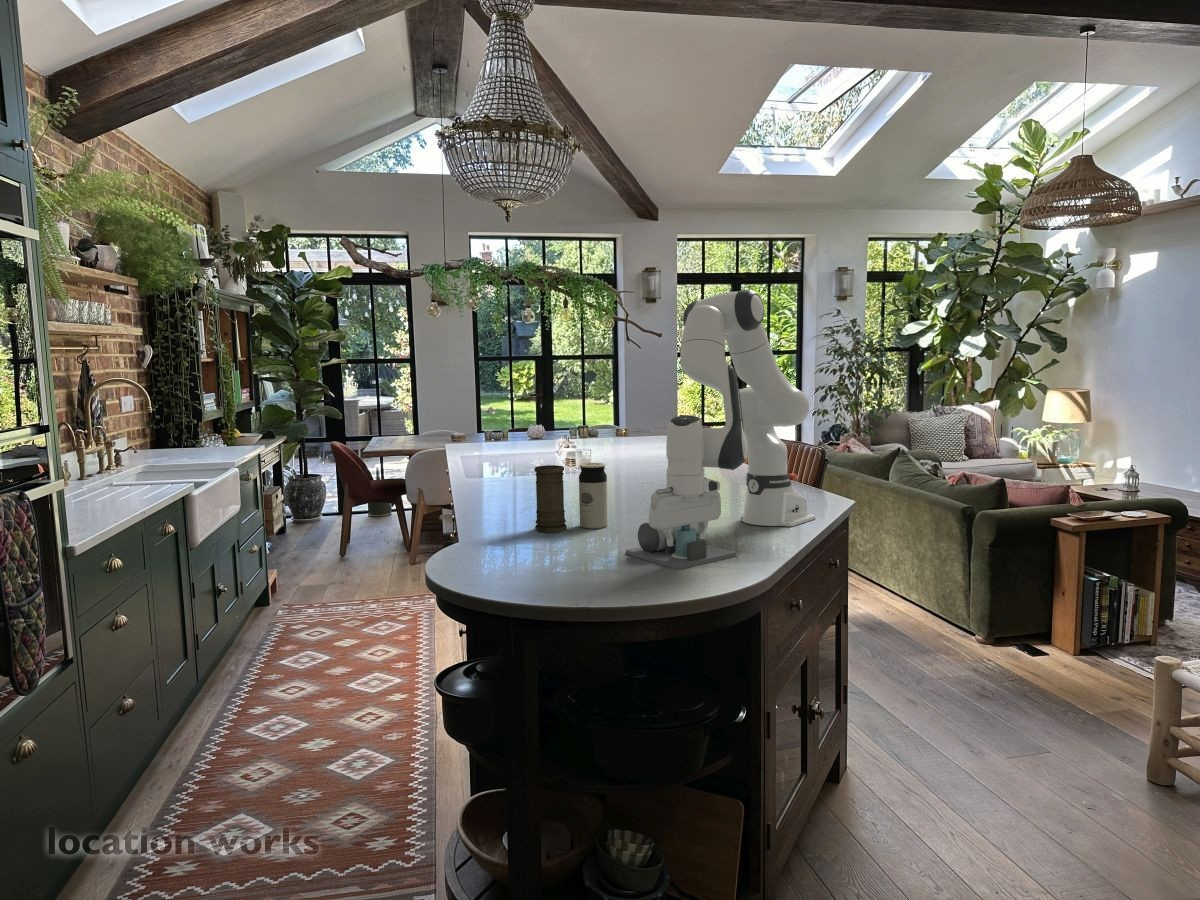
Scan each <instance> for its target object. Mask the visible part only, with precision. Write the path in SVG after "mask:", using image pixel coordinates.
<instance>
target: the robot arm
mask: <svg viewBox="0 0 1200 900" xmlns="http://www.w3.org/2000/svg"><path fill="white" fill-rule="evenodd" d="M764 316H765V306H764V302H763V299H762V297H761V296H760V295H759V294H758V293H757V292H756V291H754V290H753V289H740V290H738V291H728V292H722V293H717V294H716V295H712V296H709V297H706V298H703V299H697V300H695V301H692V302H690V303H689V304H688V305H687V306H686V308H685V309H684V311H683V315H682V322H683V323H682V324H683V326H684V327H683V331H682V337H681V344H680V358H679V359H680V366H681V369H682V371H683V372H684V373H685V375H687V377H689V378H690V379H691V380H693V382H696V383H698V384H701V385H703V386H706V387H708V388H711V389H713V390H715V391H717V392H719V393H720V394H721V396H722V400H723V411H724V418H725V419H724V420H725V425H723V427H703V423H702V420H701V418H700V417H698V416H695V415H689V414H688V415H679V416H674V417H672V418H671V419H670V420H669V422H668V426H667V431H666V432H667V433H666V447H665V449H666V450H665V451H666V452H665V454H666V459H667V468H666V487H665V488H659V489H655V491H654V492H653V493H652V495H651V496H650V505H649V513H648V523H649V525H650V526H651V528H653V529H657V530H663V533H664V535H665V537H666V538H667V546H675V545H676V538H673V536H672V534H671V532H673V527H679V526H684V525H689V524H695V523H698V525H699V528H698V531H697V532H696V540H698V541H700V540H704V539H705V534H706V530H707V528H708V525H709V522H710V521H716V520H718V519H719V518H720V516H721V514H722V497H721V494H720V492H719V491H720V489H721V482H719V481H718V480H715V479H711V478H707V477H705V469H704V468H714V469H715V468H716V469H721V470H723V469H724V470H730V471H731V470H732V471H734V470H736V469H738V468H740V466H742V465H743V464H744V463H745V462H746V461H747V472H746V477H745V479H746V481H745V483H746V486H747V490H746V491H745V498H744V506H743V507H744V508H743V512H742V514H741V518H742V522H743V523H745V524H750V525H754V526H761V527H762V526H766V527H796V526H797V525H801V524H803V523H806V522H807V523H808V522H809V521H813V520H816V515H815V514H813V513H810V512H808V504H807V499H806V498H805V497H804V496H803V495H802V494H801V493H800V492H799V491H797V490H796V489H795V487H793V486H792V481H794V482H796V481H797V479H798V474H796V473H788V446H787V445H786V444H785V442H784V441H782V440H781V439H780V438H779V436H778V435H777V433H776V430H775V427H783V428H784V427H785V428H787V427H792V426H796V425H801V424H803V423H804V421H805V420H806V419H807V417H808V415H809V412H810V402H809V398H808V397H807V394H805V393H804V392H803V391H802V390H800V389H798V388H797V387H795V386H794V385H793V384H792V383H791V381H789V379H787V377H786V376H785V374H784V373H783V372H782V371H781V369H780V367H779V366H778V363H777V362H776V359H775V356H774V353H773V351H772V347H771V344H770V342H769V338H768V335H767V334H768V333H767V332H766V329H765V326H764V325H763V320H764ZM726 345H727V349H728V352H729V354H730V357H731V360H732V364H733V366H732V365H731V364H729V363H728V361H727V359H726V351H725V350H726ZM738 379H740V380H741V381H743V382H744V383H746V384H747V385H748V386H749V387H744V388H740V386H739V380H738Z"/></svg>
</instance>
